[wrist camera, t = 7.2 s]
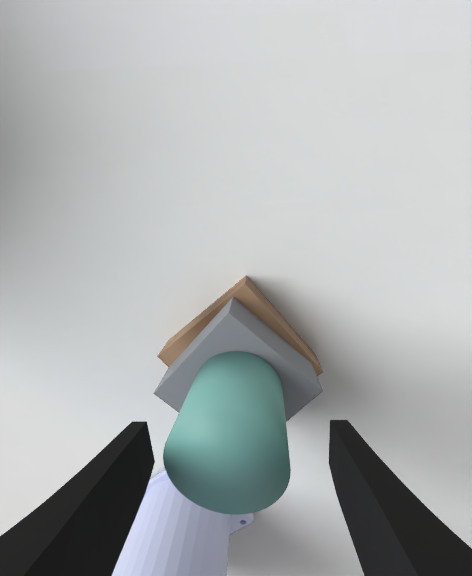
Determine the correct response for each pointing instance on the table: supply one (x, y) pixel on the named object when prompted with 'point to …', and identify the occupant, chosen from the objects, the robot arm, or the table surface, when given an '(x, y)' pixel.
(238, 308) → the grey top block
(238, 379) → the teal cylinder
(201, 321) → the walnut base block
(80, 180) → the table surface
